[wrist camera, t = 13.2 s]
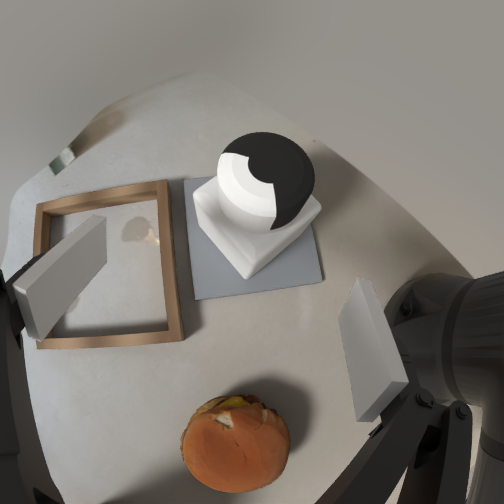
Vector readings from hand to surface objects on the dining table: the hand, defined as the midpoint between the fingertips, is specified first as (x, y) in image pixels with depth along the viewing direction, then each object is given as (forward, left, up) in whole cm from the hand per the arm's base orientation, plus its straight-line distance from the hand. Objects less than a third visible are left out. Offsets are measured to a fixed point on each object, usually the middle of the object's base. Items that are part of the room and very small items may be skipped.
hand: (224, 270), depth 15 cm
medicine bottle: (-3, -6, -13) cm, 15 cm away
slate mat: (-3, -6, -13) cm, 15 cm away
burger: (+1, +14, -14) cm, 19 cm away
